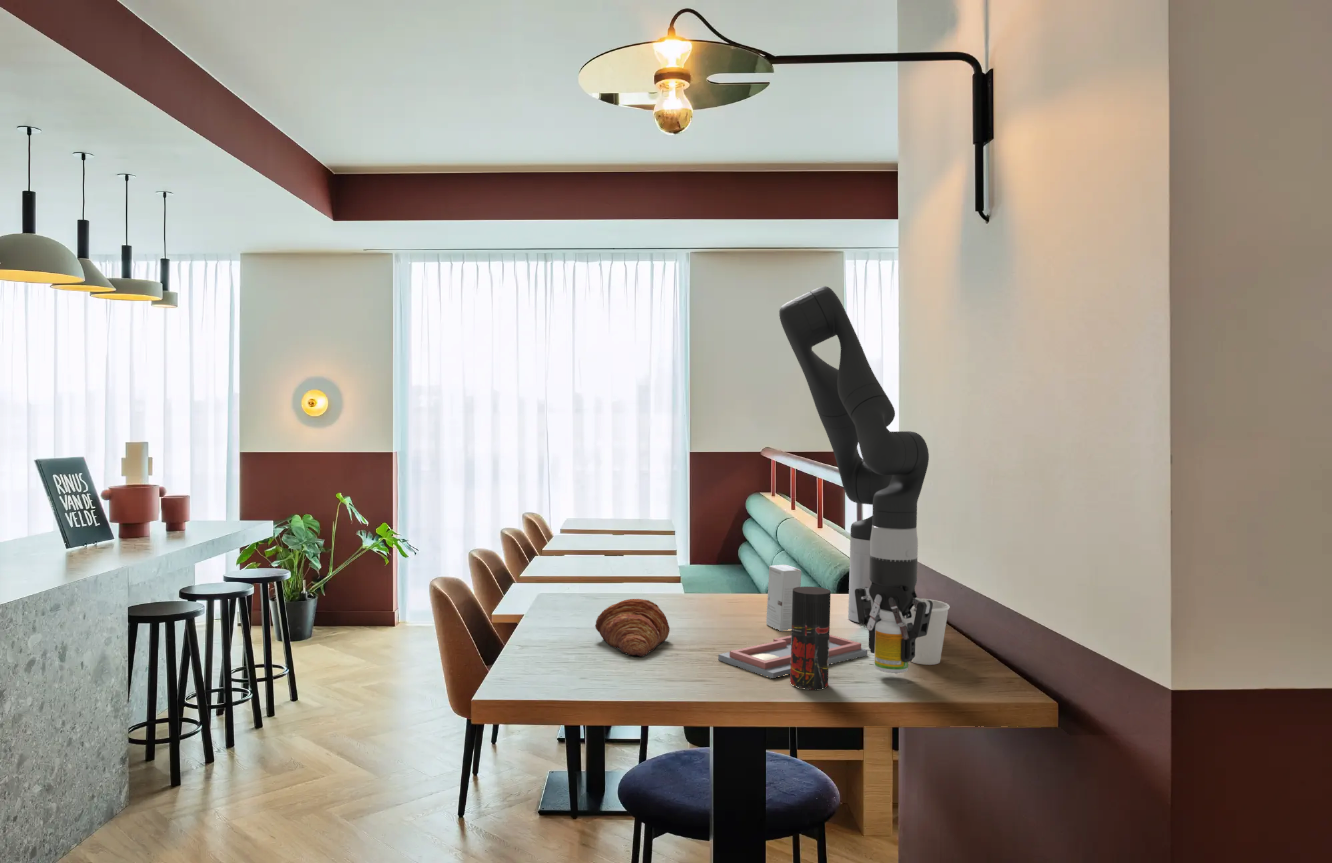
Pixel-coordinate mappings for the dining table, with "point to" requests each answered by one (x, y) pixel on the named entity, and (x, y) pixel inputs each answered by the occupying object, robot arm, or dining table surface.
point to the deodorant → (810, 637)
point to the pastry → (633, 626)
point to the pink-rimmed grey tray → (785, 655)
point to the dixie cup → (932, 635)
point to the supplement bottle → (888, 644)
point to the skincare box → (781, 595)
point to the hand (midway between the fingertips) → (891, 656)
